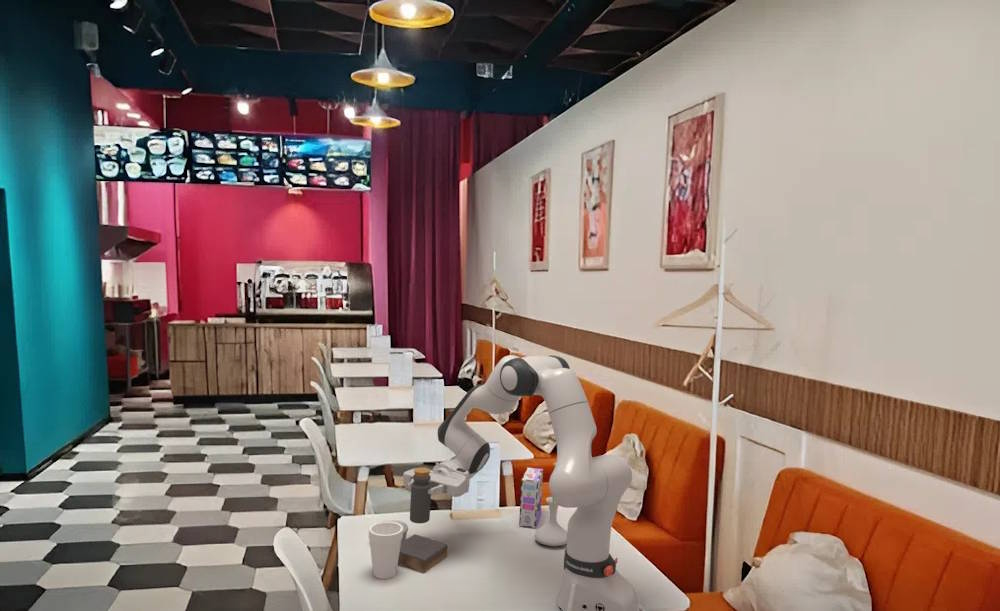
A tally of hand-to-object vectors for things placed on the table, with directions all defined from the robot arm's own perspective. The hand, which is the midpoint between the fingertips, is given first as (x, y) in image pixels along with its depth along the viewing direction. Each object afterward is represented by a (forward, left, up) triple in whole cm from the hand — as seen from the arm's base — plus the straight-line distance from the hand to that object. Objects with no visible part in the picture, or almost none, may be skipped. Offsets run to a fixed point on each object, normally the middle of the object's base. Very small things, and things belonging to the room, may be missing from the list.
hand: (419, 489), depth 186 cm
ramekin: (+14, -5, -22) cm, 26 cm away
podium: (0, -1, -21) cm, 21 cm away
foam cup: (+3, +11, -22) cm, 25 cm away
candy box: (-15, -46, -22) cm, 53 cm away
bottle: (0, -1, -9) cm, 10 cm away
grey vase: (-28, -35, -22) cm, 50 cm away
